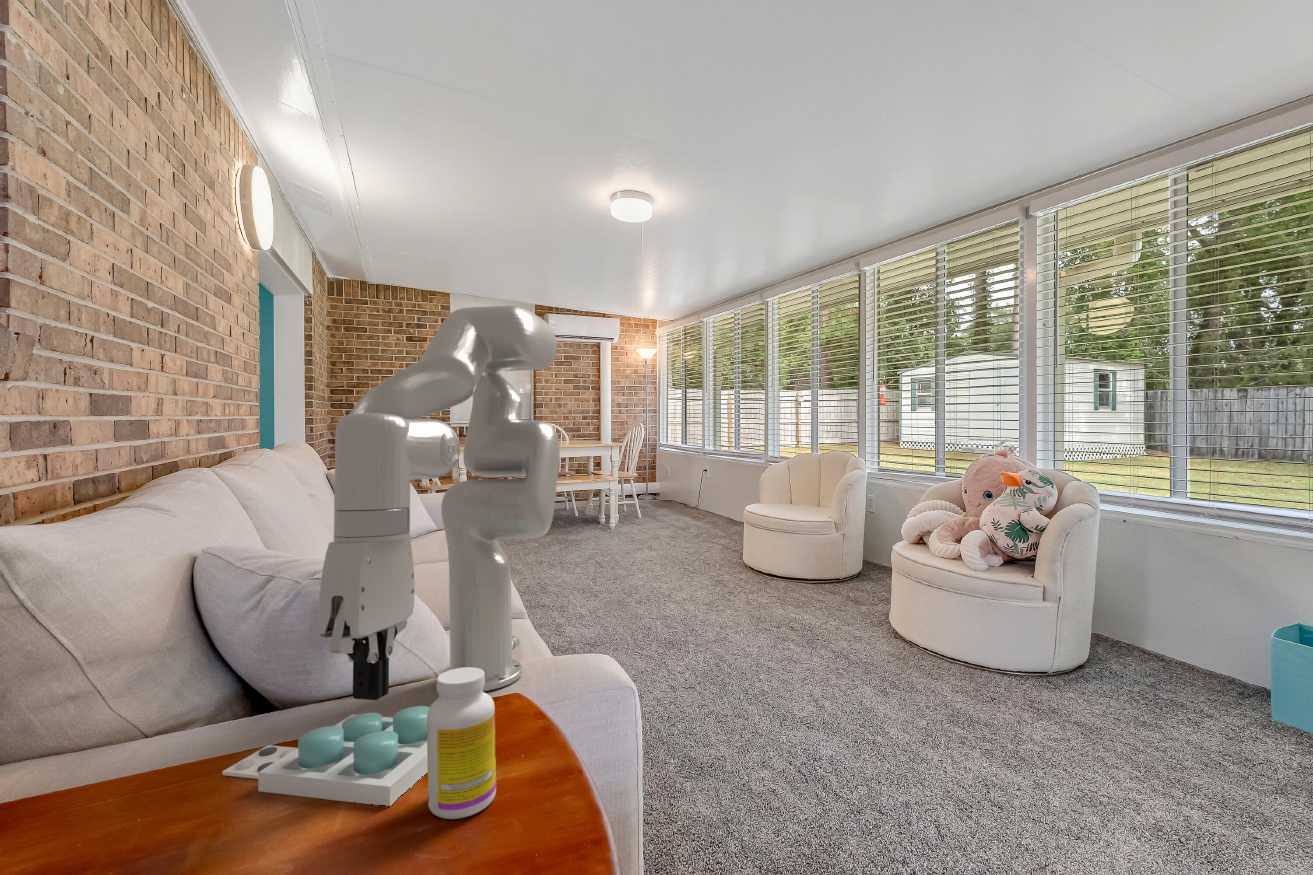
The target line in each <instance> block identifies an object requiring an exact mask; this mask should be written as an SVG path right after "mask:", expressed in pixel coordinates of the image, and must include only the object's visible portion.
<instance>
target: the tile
mask: <svg viewBox="0 0 1313 875" xmlns="http://www.w3.org/2000/svg"><path fill="white" fill-rule="evenodd" d="M297 748H298V747H292V746H282V745H281V746H280V745H279V746H278V745H271V744H270V745H269V744H268V745H266V746H264V747H262V748H260V749H259V750H260V751H259V750H257V751H255V752H253V753H252V754H249V756H247V757H245V758H243V759H241V760H240V761H238V762H237V763H235V764H233V765H231V766H229V767H227V768H226V769H224V770H222V771H221V772H222V774H221V775H222V776H229V777H236V778H237V777H238V778H244V779H245V778H246V779H254V780H258V772H260V771H261V770H263V769H265V768H266V767H268V766H269V765H271V764H273V763H274V762H276V761H278V760H279V759H281V758H282V757H284V756H286V755H287V754H289V753H291V752H292V751H294V750H295V749H297Z"/></svg>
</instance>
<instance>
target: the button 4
mask: <svg viewBox="0 0 1313 875" xmlns="http://www.w3.org/2000/svg"><path fill="white" fill-rule="evenodd" d="M429 708H430V706H425V705H418V706H410V707H407V708H404V709H400V710H399V711H397V712H396V713H394V715H393V716H392V718H393V732H396V733H397V734H398V744H412V743H416V742H420V741H422V740H424V739H426V738H427V713H428V710H429Z"/></svg>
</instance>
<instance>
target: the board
mask: <svg viewBox="0 0 1313 875" xmlns="http://www.w3.org/2000/svg"><path fill="white" fill-rule="evenodd" d="M355 715H356V714H351V715H349V716H348V717H346V718H345V719H342V720H341V721H339V722H338V723H336V724H335V725H334V726H338V727H341V728H342V723H343V722H344V721H345V720H346V719H348V718H350V717H352V716H355ZM382 731H393V717H390V716H389V717H387V716H382ZM353 745H354V742H348V741H344V754H343V756H342V757H341V758H340V759H338V760H337V761H335V762H333V763H331V764H329V765H326V766H323V767H318V768H302V767H300V766H299V765H298V747H296V748H297V749H295V750H294V751H292V752H291V753H289V754H287V755H286V756H284V757H282V758H281V759H279V760H278V761H276V762H274V763H273V764H271V765H269V766H268V767H266V768H265V769H263V770H261V771H260V772H258V779H257V780H258V781H257V782H258V788H257V789H258V791H257V792H259V793H260V792H261V793H262V792H263V793H272V794H279V795H280V794H281V795H288V796H294V797H304V798H311V799H321V800H328V801H329V800H330V801H339V802H346V803H354V802H355V803H356V804H362V803H363V804H364V805H371V804H373V806H379V805H380V804H381V805H386V806H385V807H388V805H389V806H390V807H391V805H392V804H393V803H394V802H395V801H396V800H397V799H398V797H400V796H401V795H402V794H404V792H406V791H407V790H408V789H409V788H410V789H411V788H413V787H414V786H415V785H416V784H417V783H418V782H419V781H420V780H422V778H423V777H425V776H426V775H427V774H428V756H427V738H426V739H424V740H422V741H420V742H416V743H412V744H398V761H397V763H396V764H395V765H394V766H392V767H391V768H389V769H387V770H385V771H382V772H379V773H374V774H358V773H356V772H355V771H354V759H353ZM426 773H427V774H426ZM425 774H426V775H425ZM424 775H425V776H424ZM422 776H423V777H422ZM421 777H422V778H421ZM419 779H420V780H419ZM418 780H419V781H418ZM417 781H418V782H417ZM416 782H417V783H416ZM415 783H416V784H415ZM414 784H415V785H414ZM413 785H414V786H413ZM410 789H409V790H410ZM409 790H408V791H409ZM408 791H407V792H408ZM407 792H406V793H407ZM404 795H405V794H404ZM401 797H402V796H401ZM401 797H400V798H401ZM398 800H399V799H398ZM398 800H397V801H398ZM397 801H396V802H397ZM396 802H395V803H396ZM395 803H394V804H395ZM363 804H362V805H363ZM394 804H393V805H394Z"/></svg>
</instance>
